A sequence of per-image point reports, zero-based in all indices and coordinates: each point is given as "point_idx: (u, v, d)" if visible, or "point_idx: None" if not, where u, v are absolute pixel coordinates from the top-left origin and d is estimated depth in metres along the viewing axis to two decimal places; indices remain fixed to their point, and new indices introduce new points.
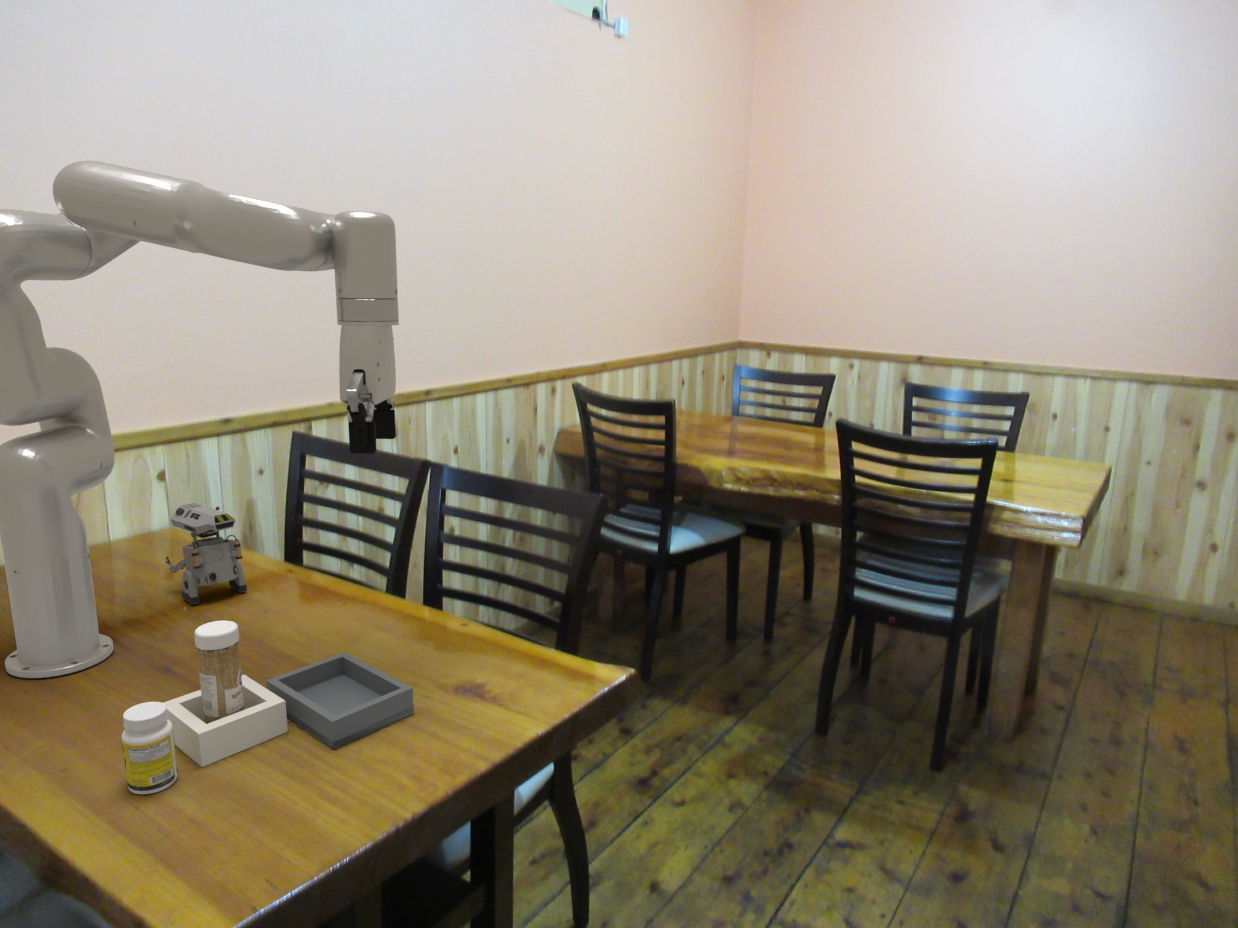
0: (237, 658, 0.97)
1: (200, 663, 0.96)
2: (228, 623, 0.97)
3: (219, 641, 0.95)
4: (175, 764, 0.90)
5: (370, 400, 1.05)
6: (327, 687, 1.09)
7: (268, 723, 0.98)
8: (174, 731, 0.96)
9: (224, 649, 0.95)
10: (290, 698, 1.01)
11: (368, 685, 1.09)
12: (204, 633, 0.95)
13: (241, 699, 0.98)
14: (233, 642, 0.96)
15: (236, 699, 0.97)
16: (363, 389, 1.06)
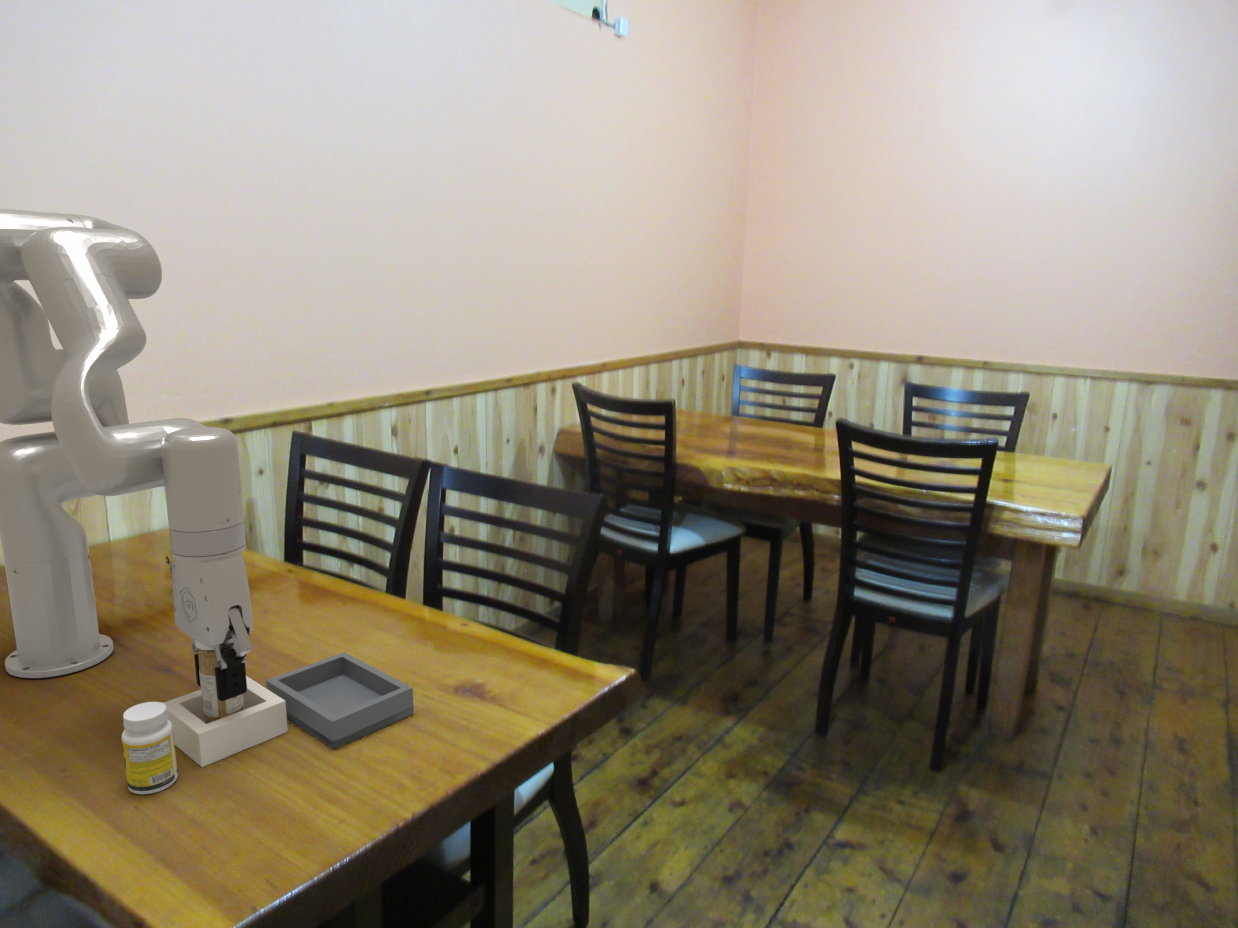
0: None
1: (200, 663, 0.96)
2: None
3: None
4: (175, 764, 0.90)
5: None
6: (327, 687, 1.09)
7: (268, 723, 0.98)
8: (174, 731, 0.96)
9: (224, 649, 0.95)
10: (290, 698, 1.01)
11: (368, 685, 1.09)
12: None
13: (241, 699, 0.98)
14: None
15: (236, 699, 0.97)
16: None
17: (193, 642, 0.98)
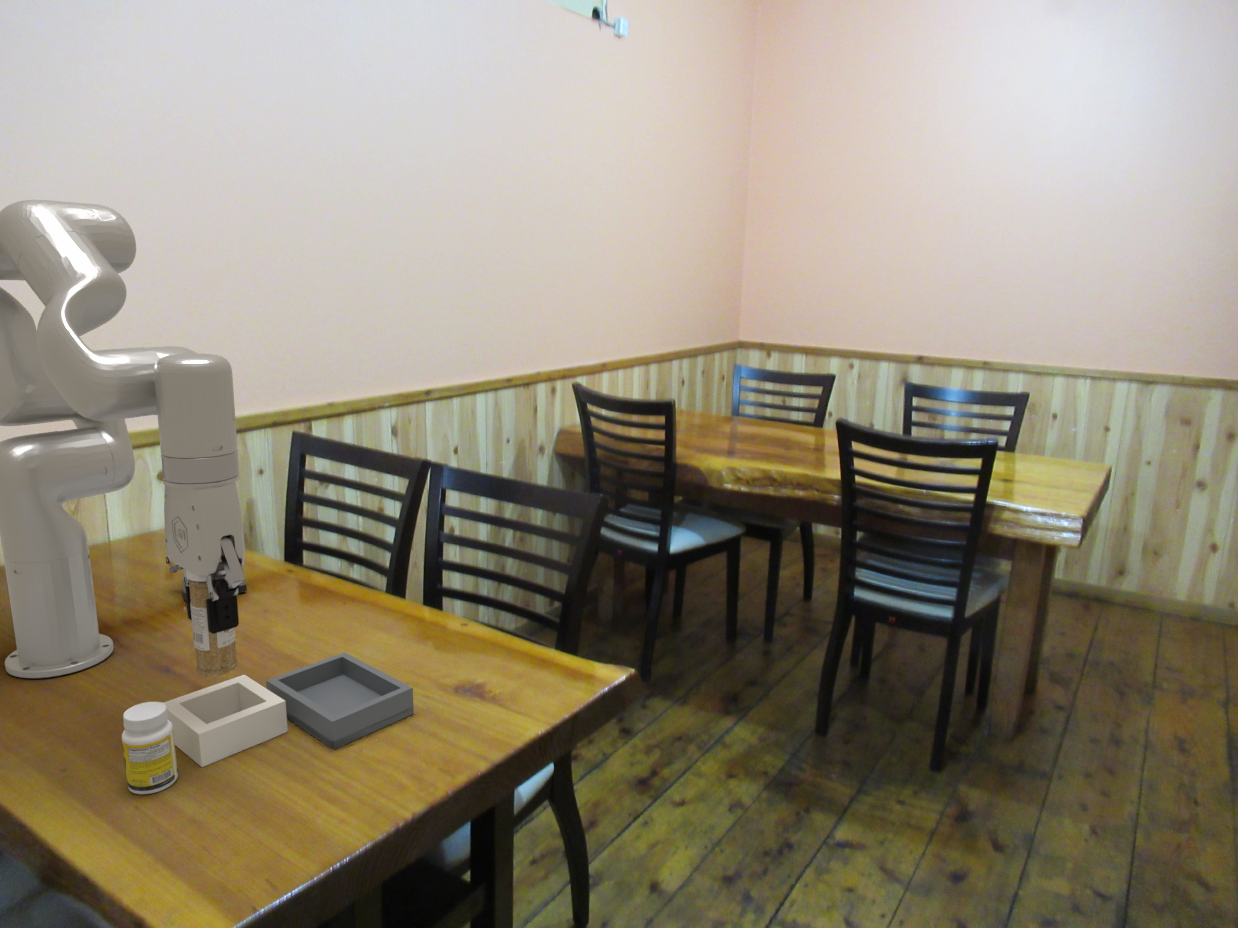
0: None
1: (191, 595, 0.94)
2: None
3: None
4: (175, 764, 0.90)
5: None
6: (327, 687, 1.09)
7: (268, 723, 0.98)
8: (174, 731, 0.96)
9: (216, 581, 0.94)
10: (290, 698, 1.01)
11: (368, 685, 1.09)
12: None
13: (232, 633, 0.97)
14: None
15: (228, 633, 0.96)
16: None
17: (184, 575, 0.96)
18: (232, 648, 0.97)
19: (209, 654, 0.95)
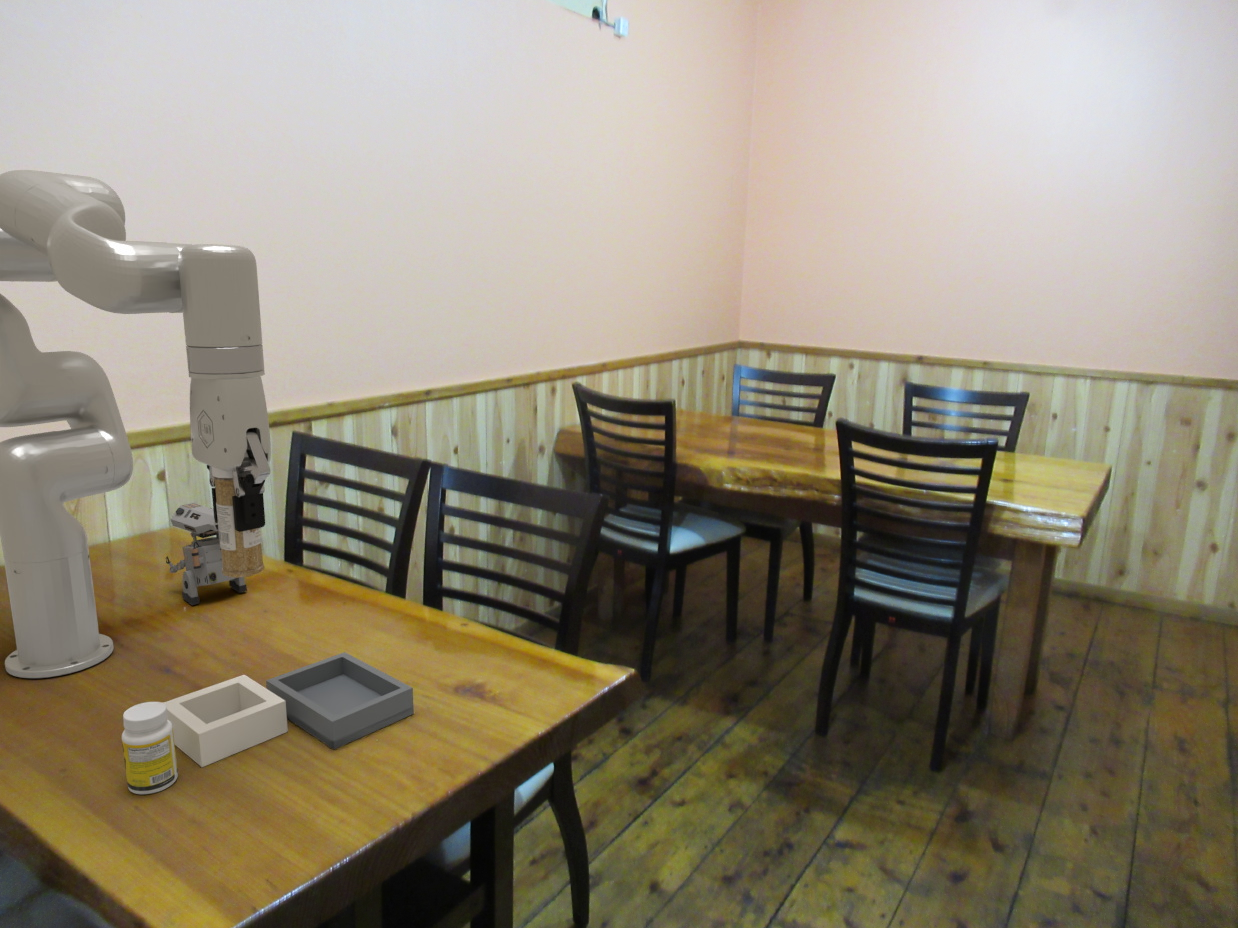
0: None
1: (217, 493, 0.93)
2: None
3: None
4: (175, 764, 0.90)
5: None
6: (327, 687, 1.09)
7: (268, 723, 0.98)
8: (174, 731, 0.96)
9: None
10: (290, 698, 1.01)
11: (368, 685, 1.09)
12: None
13: (259, 535, 0.95)
14: None
15: (254, 534, 0.95)
16: None
17: (210, 476, 0.95)
18: (258, 550, 0.96)
19: (236, 555, 0.94)
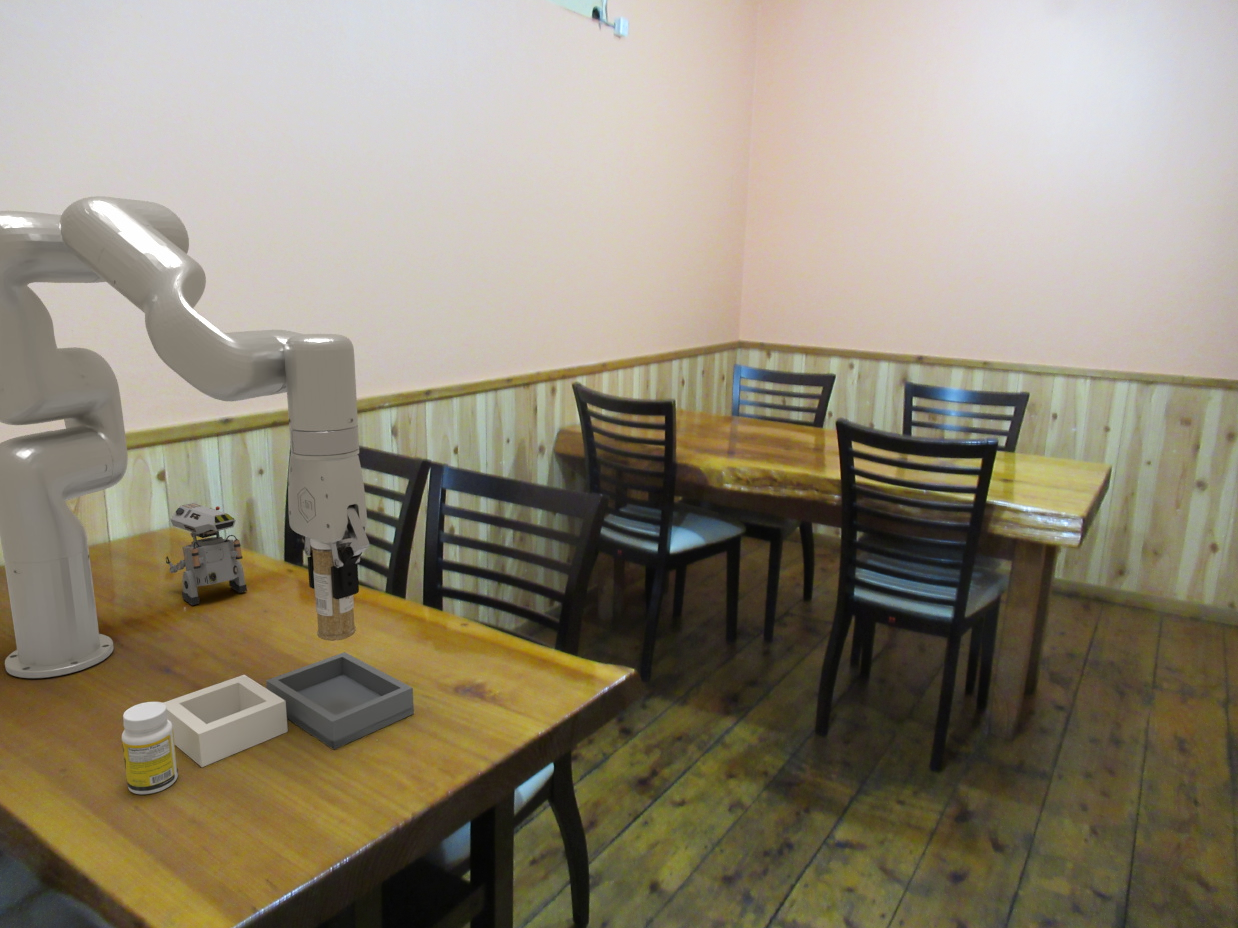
0: None
1: (315, 563, 0.99)
2: None
3: None
4: (175, 764, 0.90)
5: None
6: (327, 687, 1.09)
7: (268, 723, 0.98)
8: (174, 731, 0.96)
9: None
10: (290, 698, 1.01)
11: (368, 685, 1.09)
12: None
13: (352, 600, 1.02)
14: (347, 543, 1.00)
15: (348, 599, 1.01)
16: None
17: (306, 545, 1.02)
18: (351, 614, 1.02)
19: (332, 620, 1.00)
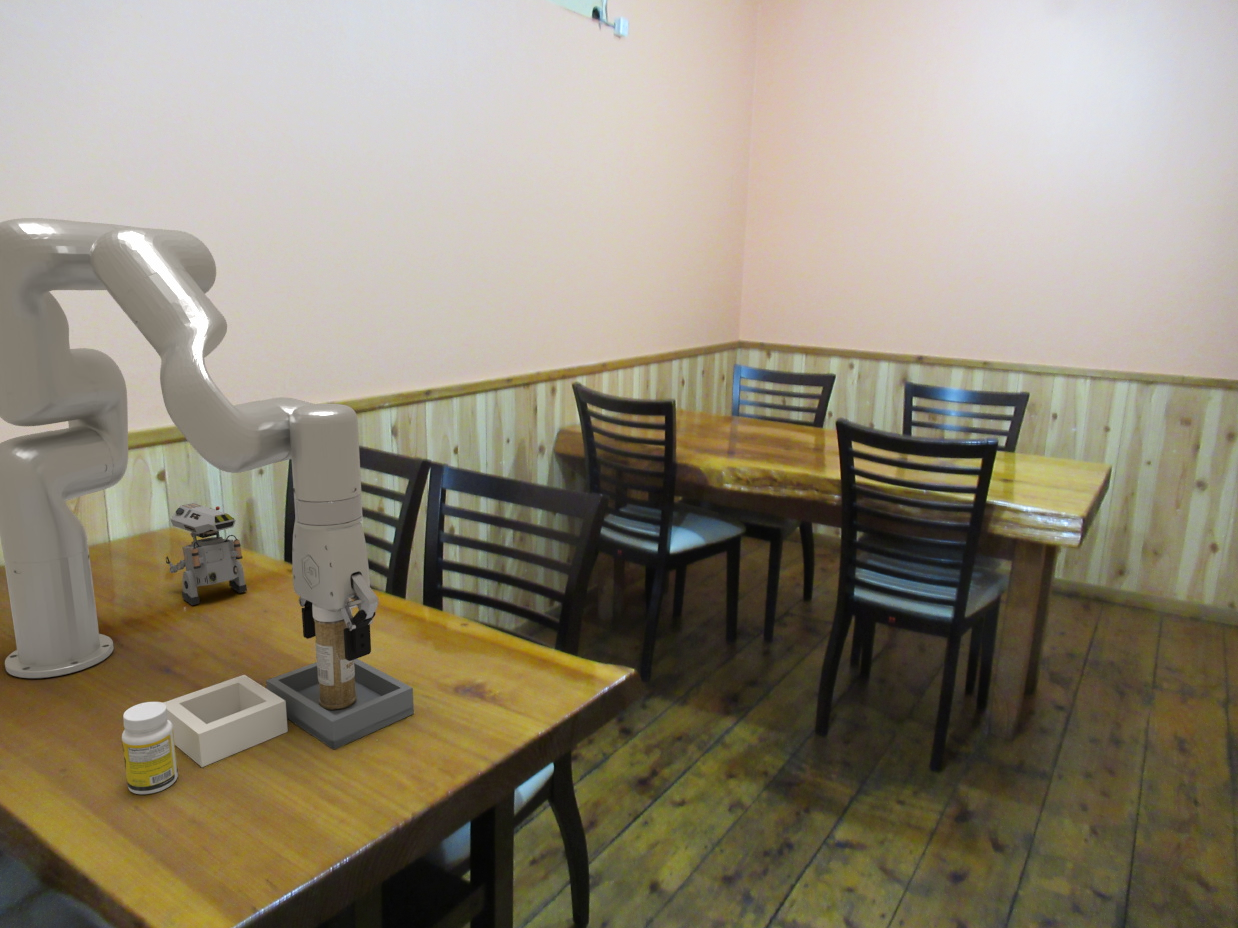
0: None
1: (317, 634, 1.01)
2: None
3: (336, 613, 1.00)
4: (175, 764, 0.90)
5: None
6: None
7: (268, 723, 0.98)
8: (174, 731, 0.96)
9: (341, 621, 1.01)
10: (290, 698, 1.01)
11: (368, 685, 1.09)
12: None
13: (353, 669, 1.04)
14: None
15: (349, 669, 1.03)
16: None
17: (302, 597, 1.04)
18: (352, 683, 1.04)
19: (333, 689, 1.02)
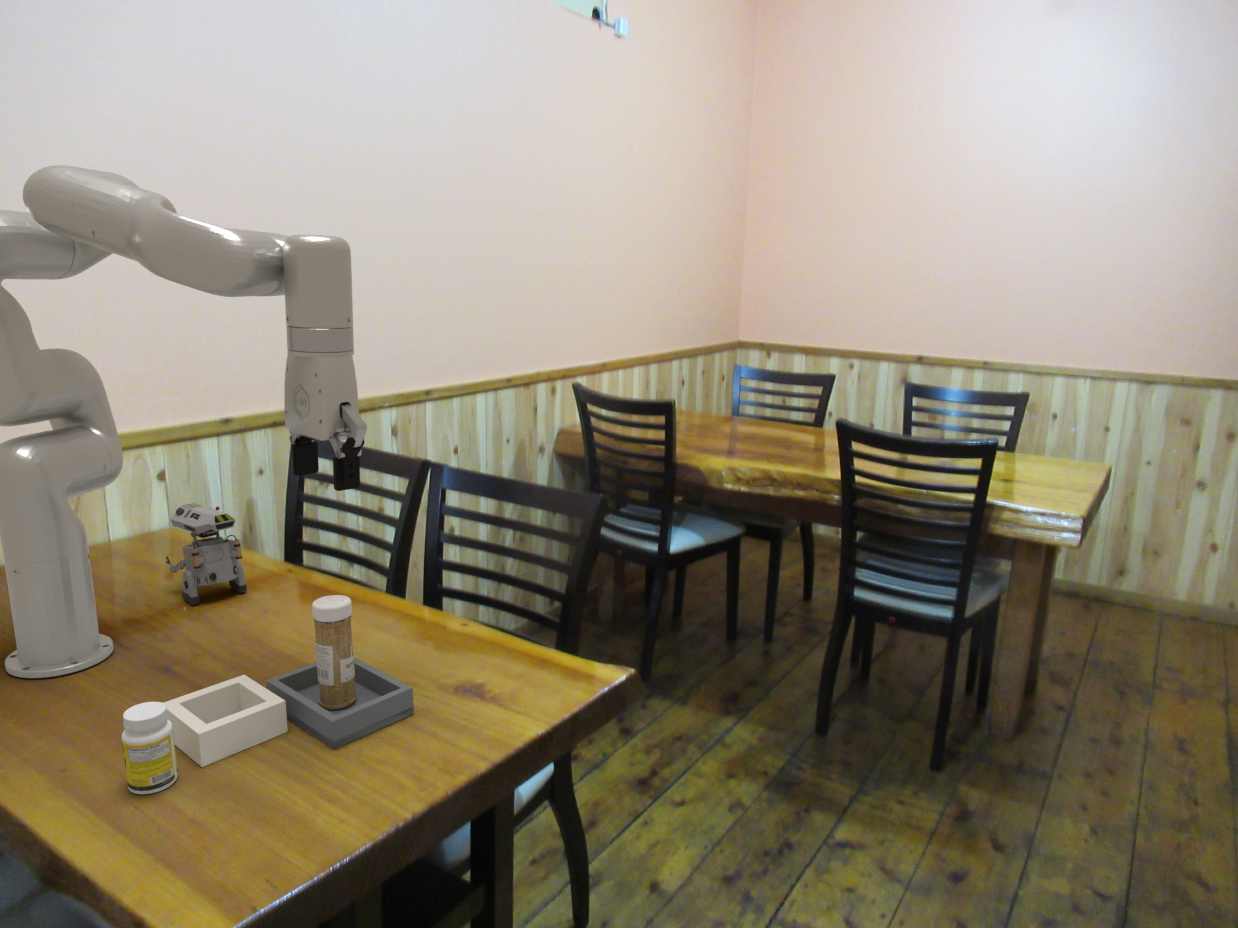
0: (350, 630, 1.03)
1: (317, 634, 1.01)
2: (342, 597, 1.03)
3: (336, 613, 1.00)
4: (175, 764, 0.90)
5: None
6: None
7: (268, 723, 0.98)
8: (174, 731, 0.96)
9: (341, 621, 1.01)
10: (290, 698, 1.01)
11: (368, 685, 1.09)
12: (322, 605, 1.00)
13: (353, 669, 1.04)
14: (348, 615, 1.02)
15: (349, 669, 1.03)
16: (337, 422, 1.00)
17: (292, 434, 1.06)
18: (352, 683, 1.04)
19: (333, 689, 1.02)
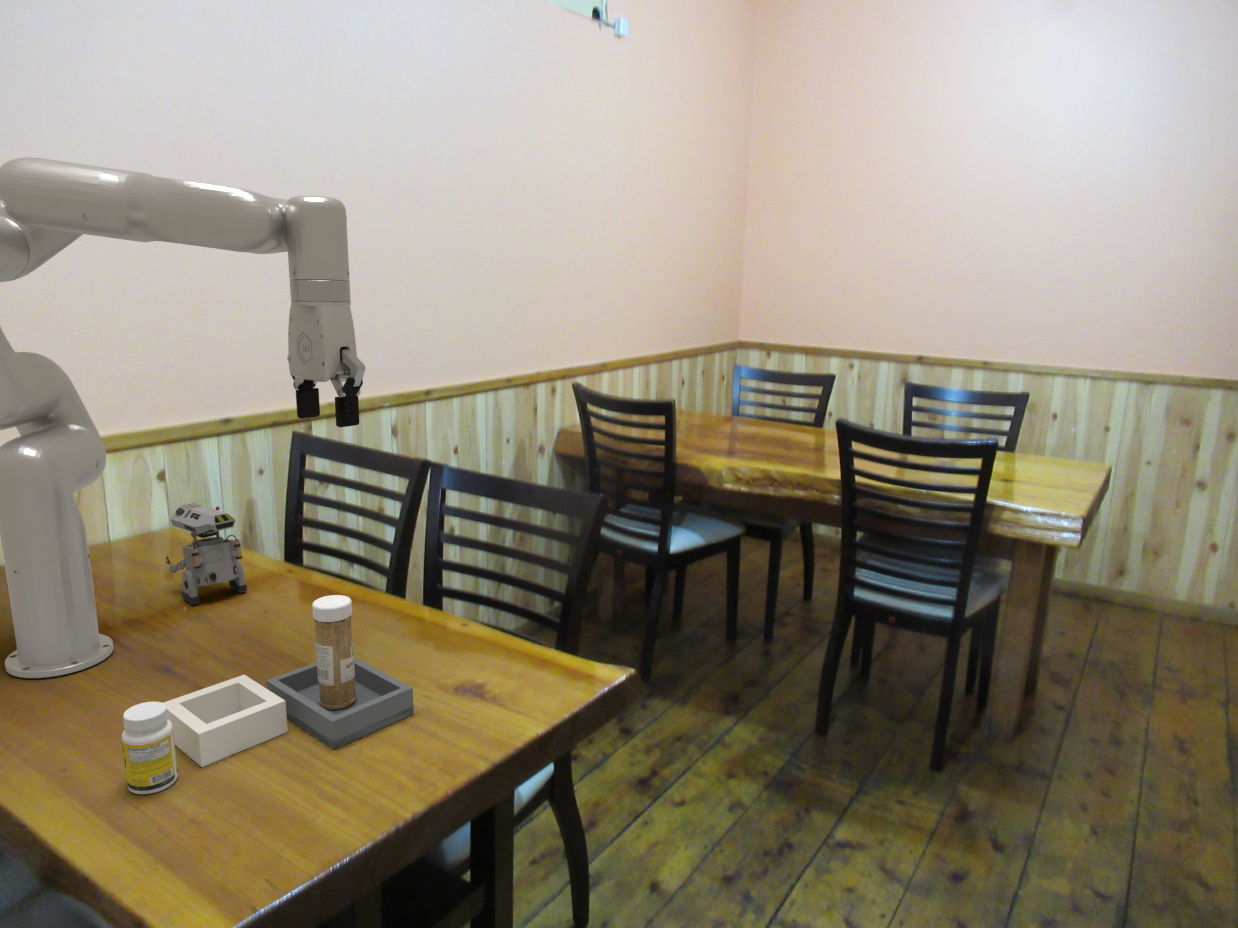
0: (350, 630, 1.03)
1: (317, 634, 1.01)
2: (342, 597, 1.03)
3: (336, 613, 1.00)
4: (175, 764, 0.90)
5: None
6: None
7: (268, 723, 0.98)
8: (174, 731, 0.96)
9: (341, 621, 1.01)
10: (290, 698, 1.01)
11: (368, 685, 1.09)
12: (322, 605, 1.00)
13: (353, 669, 1.04)
14: (348, 615, 1.02)
15: (349, 669, 1.03)
16: None
17: (296, 380, 1.17)
18: (352, 683, 1.04)
19: (333, 689, 1.02)
